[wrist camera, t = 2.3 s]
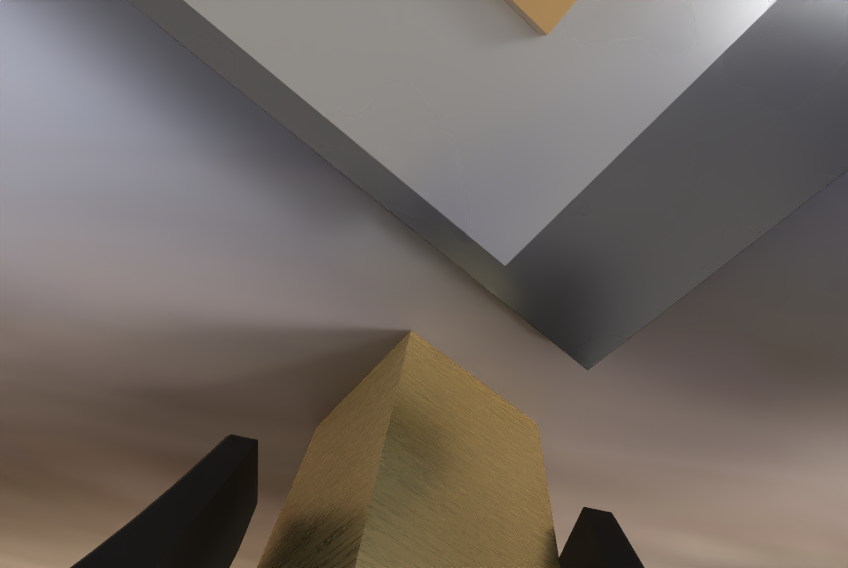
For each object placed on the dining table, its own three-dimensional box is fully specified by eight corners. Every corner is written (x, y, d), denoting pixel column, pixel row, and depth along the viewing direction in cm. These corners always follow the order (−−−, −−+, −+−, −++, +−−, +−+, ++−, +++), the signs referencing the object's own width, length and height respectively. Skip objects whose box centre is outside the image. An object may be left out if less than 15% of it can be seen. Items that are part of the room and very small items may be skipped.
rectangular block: (537, 424, 12) (608, 875, 6) (434, 502, 14) (394, 919, 7) (411, 330, 11) (315, 732, 5) (317, 426, 13) (148, 821, 6)
